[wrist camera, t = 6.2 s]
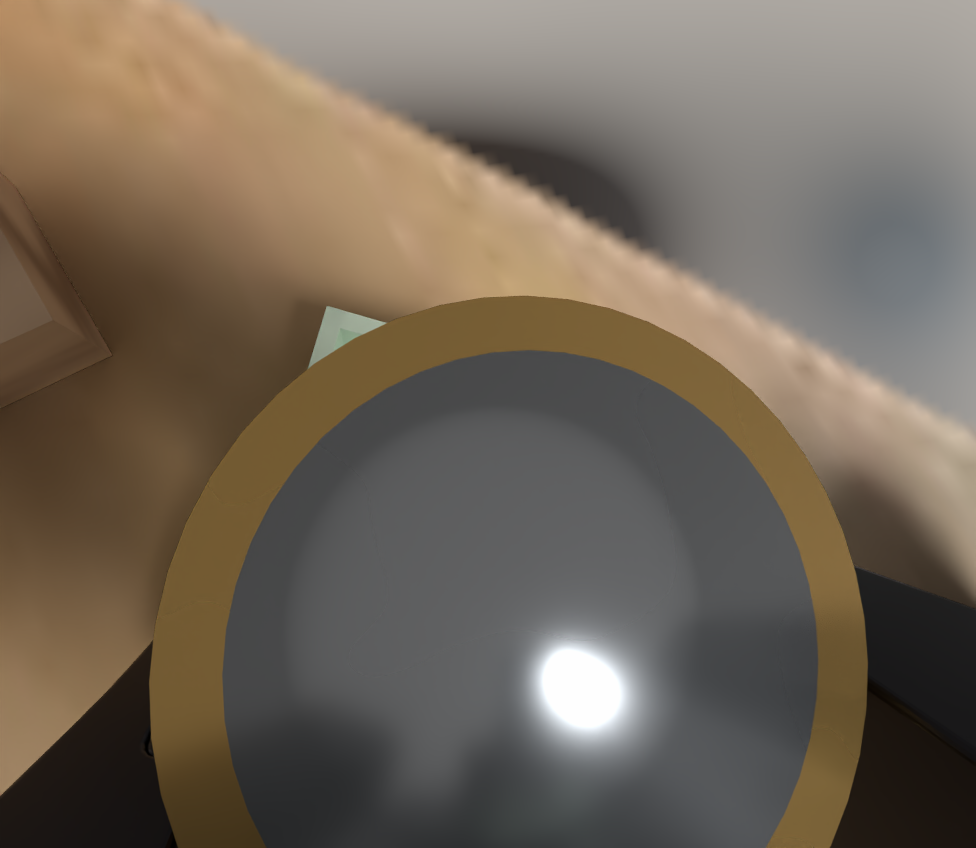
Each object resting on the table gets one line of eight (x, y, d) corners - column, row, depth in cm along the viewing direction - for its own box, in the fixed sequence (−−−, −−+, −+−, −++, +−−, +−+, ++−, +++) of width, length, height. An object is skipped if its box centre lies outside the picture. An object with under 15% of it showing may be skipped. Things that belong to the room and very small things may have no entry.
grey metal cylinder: (534, 527, 17) (963, 547, 5) (437, 677, 16) (654, 1236, 4) (397, 428, 17) (459, 167, 4) (288, 574, 16) (-47, 783, 3)
